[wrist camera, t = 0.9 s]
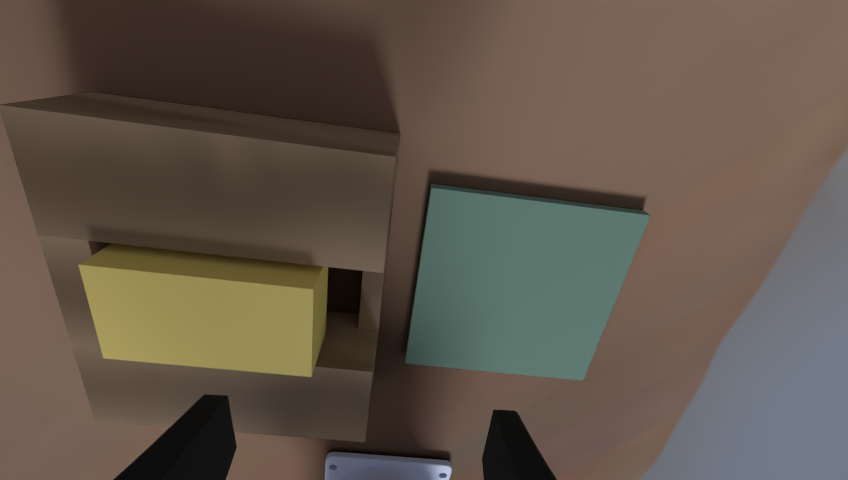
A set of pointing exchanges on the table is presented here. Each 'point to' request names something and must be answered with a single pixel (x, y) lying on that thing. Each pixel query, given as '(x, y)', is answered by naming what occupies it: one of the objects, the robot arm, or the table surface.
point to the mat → (517, 281)
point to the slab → (206, 309)
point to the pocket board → (211, 239)
